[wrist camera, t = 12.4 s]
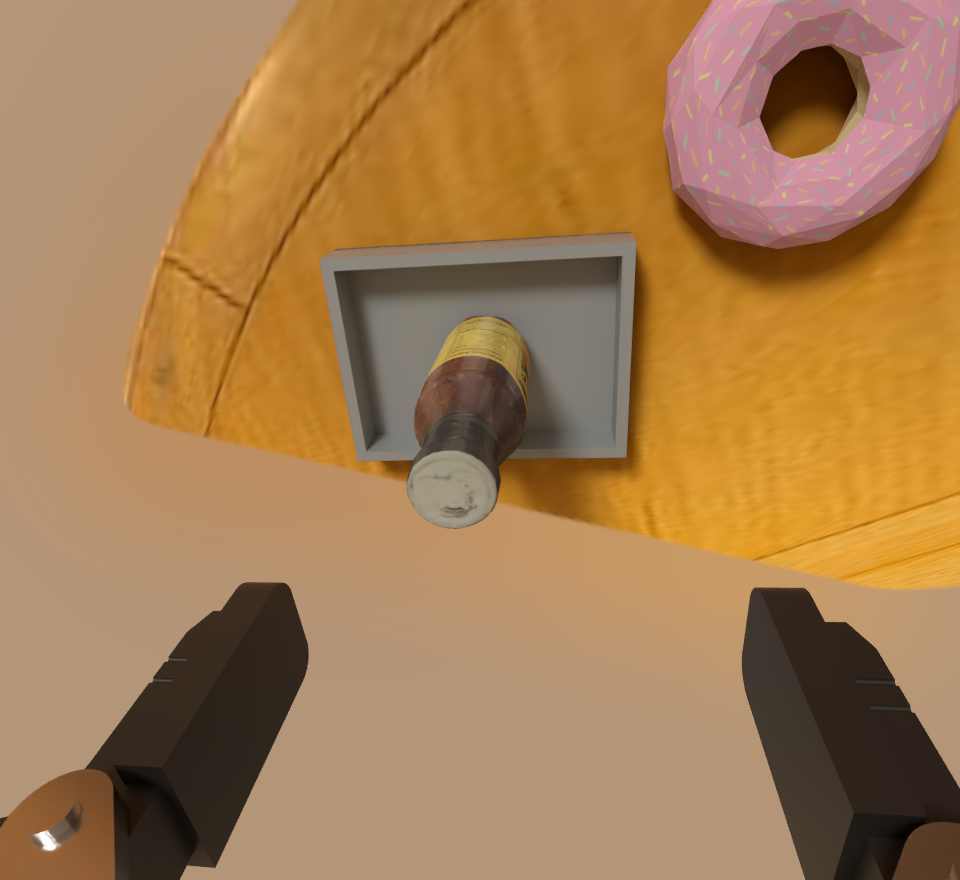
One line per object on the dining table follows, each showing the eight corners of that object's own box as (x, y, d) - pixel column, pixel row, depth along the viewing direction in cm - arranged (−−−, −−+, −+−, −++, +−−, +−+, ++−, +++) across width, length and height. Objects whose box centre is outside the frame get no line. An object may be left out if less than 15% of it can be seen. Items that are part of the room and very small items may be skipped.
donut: (673, -50, 33) (692, -78, 28) (974, -69, 31) (1045, -100, 27) (644, 245, 40) (657, 260, 35) (888, 241, 38) (933, 257, 34)
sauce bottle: (506, 404, 45) (481, 581, 28) (431, 369, 45) (357, 527, 27) (547, 329, 42) (548, 474, 25) (467, 290, 42) (410, 411, 24)
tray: (629, 232, 39) (636, 241, 36) (621, 435, 46) (626, 457, 43) (336, 249, 42) (319, 259, 39) (369, 439, 49) (357, 461, 46)
